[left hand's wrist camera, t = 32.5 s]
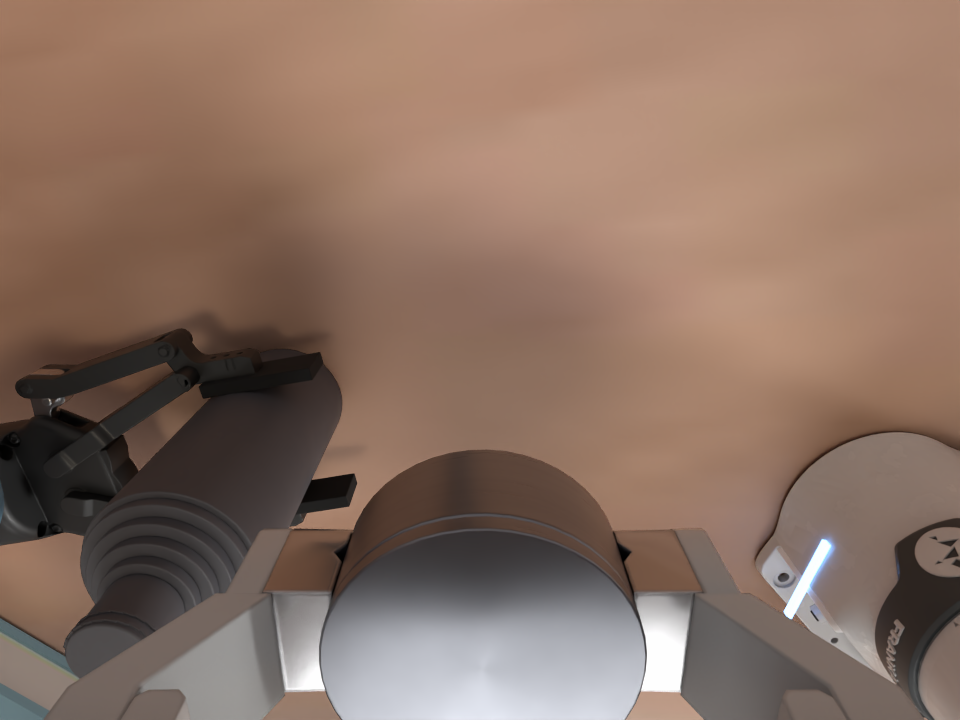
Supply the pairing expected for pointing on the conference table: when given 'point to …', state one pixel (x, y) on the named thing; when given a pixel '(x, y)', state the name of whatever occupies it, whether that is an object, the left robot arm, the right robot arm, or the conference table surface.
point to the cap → (482, 600)
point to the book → (29, 675)
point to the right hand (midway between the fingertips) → (334, 429)
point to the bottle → (199, 510)
